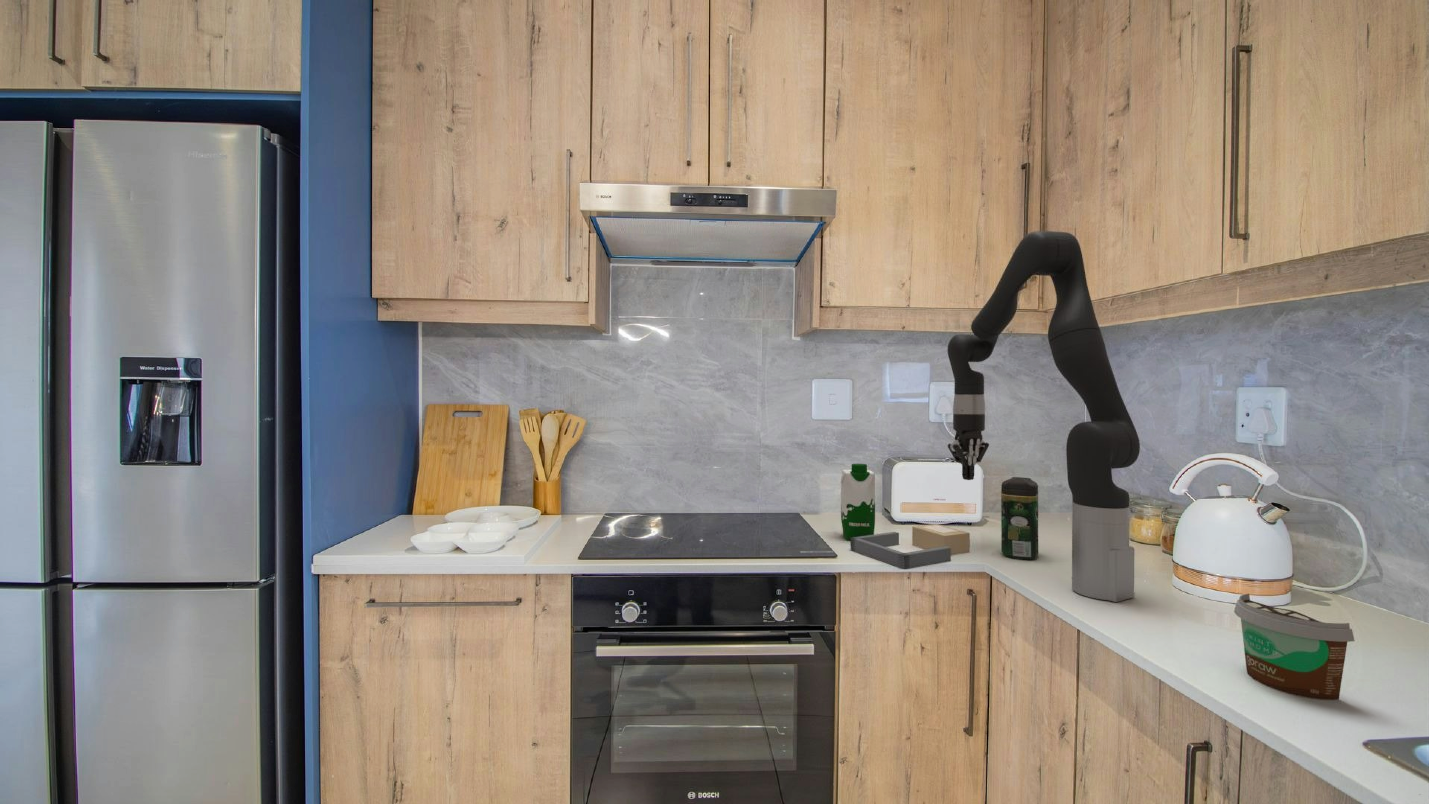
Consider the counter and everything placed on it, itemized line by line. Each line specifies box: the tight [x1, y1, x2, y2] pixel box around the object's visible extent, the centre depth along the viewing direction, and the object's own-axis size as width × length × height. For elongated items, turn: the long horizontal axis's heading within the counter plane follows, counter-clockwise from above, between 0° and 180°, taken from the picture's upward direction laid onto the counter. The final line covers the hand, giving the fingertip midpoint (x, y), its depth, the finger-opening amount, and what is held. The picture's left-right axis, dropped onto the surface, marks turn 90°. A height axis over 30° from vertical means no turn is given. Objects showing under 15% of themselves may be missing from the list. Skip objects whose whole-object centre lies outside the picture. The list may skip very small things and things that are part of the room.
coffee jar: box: [1000, 476, 1039, 560], centre depth 141 cm, size 10×8×19 cm
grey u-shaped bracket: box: [850, 531, 952, 570], centre depth 141 cm, size 18×14×3 cm
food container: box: [1233, 593, 1355, 701], centre depth 78 cm, size 12×6×10 cm, turn 13°
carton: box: [911, 523, 971, 556], centre depth 147 cm, size 11×8×5 cm
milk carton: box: [840, 463, 876, 542], centre depth 158 cm, size 9×9×20 cm
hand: (968, 479), depth 152 cm, fingers closed
